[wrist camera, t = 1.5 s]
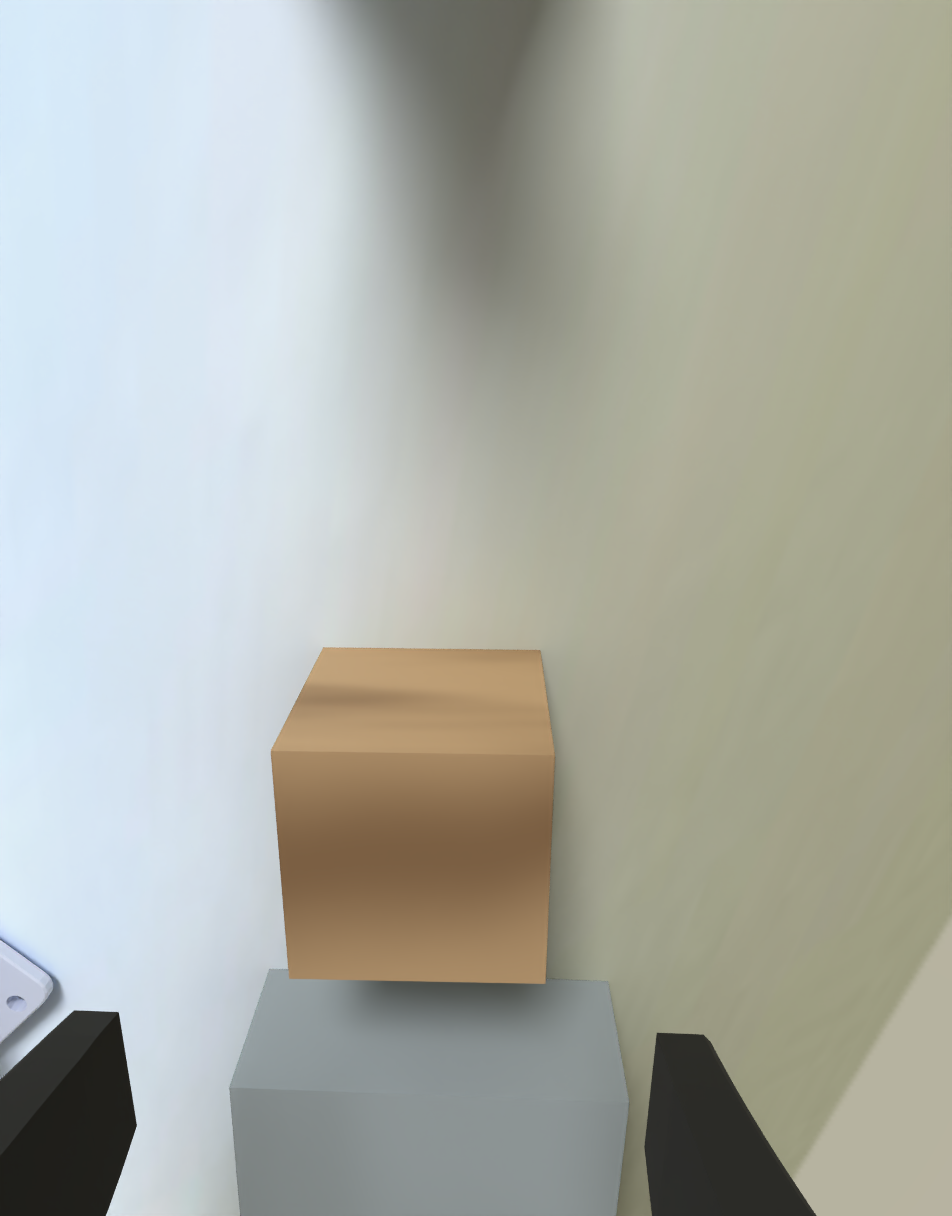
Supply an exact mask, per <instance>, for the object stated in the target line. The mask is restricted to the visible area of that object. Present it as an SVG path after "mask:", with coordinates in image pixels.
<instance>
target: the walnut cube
mask: <svg viewBox="0 0 952 1216" xmlns="http://www.w3.org/2000/svg"><path fill="white" fill-rule="evenodd" d="M271 760H272V773H273V785H274V797H275V810H276V822H277V835H278V847H279V859H280V872H281V884H282V896H283V909H284V921H285V933H286V946H287V958H288V970H289V979H321V980H373V981H425V982H477V983H529V984H545V983H546V959H547V934H548V910H549V886H550V862H551V837H552V813H553V789H554V765H555V752H554V745H553V738H552V731H551V724H550V717H549V709H548V702H547V695H546V688H545V681H544V674H543V666H542V659H541V652H540V650H483V649H404V648H325V647H323V649H322V651H321V653H320V655H319V657H318V659H317V661H316V663H315V665H314V667H313V669H312V671H311V673H310V675H309V677H308V679H307V681H306V682H305V684H304V686H303V688H302V690H301V692H300V694H299V696H298V698H297V700H296V702H295V704H294V706H293V708H292V710H291V712H290V714H289V716H288V718H287V720H286V722H285V724H284V726H283V728H282V730H281V732H280V734H279V736H278V738H277V740H276V742H275V744H274V745H273V747H272V749H271Z"/></svg>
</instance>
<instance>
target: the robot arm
mask: <svg viewBox="0 0 952 1216" xmlns="http://www.w3.org/2000/svg"><path fill="white" fill-rule="evenodd" d="M52 990H53V982H52V980H51V978H50V976H49V975H48V974H47V973H46V972H44V971H43V970H41V969H40V968H39V967H37V966H36V965H34V964H33V963H32V962H30V961H29V960H27V959H26V958H25V957H23V956H22V955H21V954H19V953H18V952H16V951H15V950H14V949H12V948H11V947H9V946H8V945H7V944H5V943H4V942H2V941H1V940H0V1043H1V1042H2V1041H4V1040H5V1039H6V1038H7V1037H8V1036H9V1035H10V1034H11V1033H12V1032H13V1031H14V1030H15V1029H16V1028H18V1027H19V1026H20V1025H21V1024H22V1023H23V1022H24V1021H25V1020H26V1019H27V1018H28V1017H29V1016H31V1015H32V1014H33V1013H34V1012H35V1011H36V1010H37V1009H38V1008H39V1007H40V1006H41V1005H42V1004H43V1003H44V1002H45V1001H46V999H47V998H48V996H49V995H50V993H51V992H52ZM17 996H19V997H21V998H23V999H24V1000H22V999H20V998H18V997H17ZM136 1127H137V1124H136V1117H135V1111H134V1105H133V1099H132V1092H131V1086H130V1080H129V1074H128V1067H127V1061H126V1055H125V1049H124V1042H123V1036H122V1030H121V1024H120V1017H119V1012H100V1011H73V1012H72V1013H71V1014H70V1015H69V1016H68V1017H67V1018H65V1019H64V1020H63V1021H62V1022H61V1023H60V1024H59V1025H58V1026H57V1027H56V1028H55V1029H53V1030H52V1031H51V1032H50V1033H49V1034H48V1035H47V1036H46V1037H45V1038H44V1039H43V1040H42V1041H41V1042H40V1043H39V1044H38V1045H36V1046H35V1047H34V1048H33V1049H32V1050H31V1051H30V1052H29V1053H28V1054H27V1055H26V1056H25V1057H24V1058H23V1059H22V1060H21V1061H20V1062H19V1063H17V1064H16V1065H15V1066H14V1067H13V1068H12V1069H11V1070H10V1071H9V1072H8V1073H7V1074H6V1075H5V1076H4V1077H3V1078H2V1079H1V1080H0V1216H106V1214H107V1211H108V1209H109V1206H110V1203H111V1200H112V1197H113V1195H114V1192H115V1189H116V1186H117V1183H118V1180H119V1178H120V1175H121V1172H122V1169H123V1166H124V1163H125V1160H126V1157H127V1154H128V1151H129V1148H130V1145H131V1142H132V1139H133V1136H134V1133H135V1130H136ZM645 1156H646V1165H647V1174H648V1183H649V1192H650V1201H651V1209H652V1216H816V1214H815V1213H814V1211H813V1210H812V1209H811V1207H810V1206H809V1204H808V1203H807V1201H806V1200H805V1198H804V1197H803V1195H802V1193H801V1192H800V1191H799V1189H798V1187H797V1186H796V1184H795V1183H794V1181H793V1180H792V1178H791V1177H790V1175H789V1174H788V1172H787V1171H786V1169H785V1168H784V1166H783V1165H782V1163H781V1162H780V1160H779V1159H778V1157H777V1155H776V1154H775V1152H774V1151H773V1149H772V1147H771V1146H770V1144H769V1143H768V1141H767V1140H766V1138H765V1136H764V1135H763V1133H762V1131H761V1130H760V1128H759V1126H758V1125H757V1123H756V1121H755V1120H754V1118H753V1117H752V1115H751V1113H750V1112H749V1110H748V1108H747V1107H746V1105H745V1103H744V1101H743V1100H742V1098H741V1096H740V1095H739V1093H738V1091H737V1089H736V1088H735V1086H734V1084H733V1082H732V1081H731V1079H730V1077H729V1075H728V1073H727V1072H726V1070H725V1068H724V1066H723V1064H722V1062H721V1061H720V1059H719V1057H718V1055H717V1053H716V1051H715V1049H714V1047H713V1046H712V1044H711V1042H710V1041H709V1040H708V1039H707V1038H706V1037H705V1036H704V1035H699V1034H673V1033H657V1036H656V1045H655V1054H654V1064H653V1073H652V1082H651V1092H650V1101H649V1110H648V1119H647V1129H646V1138H645Z"/></svg>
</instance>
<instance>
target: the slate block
mask: <svg viewBox="0 0 952 1216" xmlns="http://www.w3.org/2000/svg"><path fill="white" fill-rule="evenodd" d="M229 1089H230V1101H231V1113H232V1125H233V1137H234V1148H235V1160H236V1172H237V1184H238V1195H239V1207H240V1216H616V1212H617V1204H618V1195H619V1187H620V1178H621V1169H622V1161H623V1152H624V1144H625V1135H626V1126H627V1118H628V1109H629V1098H628V1092H627V1087H626V1081H625V1075H624V1069H623V1064H622V1058H621V1052H620V1047H619V1041H618V1035H617V1029H616V1024H615V1018H614V1012H613V1007H612V1001H611V995H610V989H609V984H608V981H587V980H560V979H546V983H545V984H529V983H477V982H425V981H373V980H321V979H289V970H288V969H269V972H268V975H267V978H266V981H265V984H264V987H263V990H262V993H261V996H260V999H259V1002H258V1005H257V1008H256V1010H255V1013H254V1016H253V1019H252V1022H251V1025H250V1028H249V1031H248V1034H247V1037H246V1040H245V1043H244V1046H243V1049H242V1052H241V1055H240V1058H239V1061H238V1064H237V1067H236V1070H235V1072H234V1075H233V1078H232V1081H231V1084H230V1087H229Z"/></svg>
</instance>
